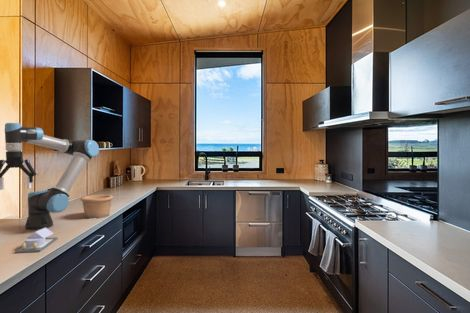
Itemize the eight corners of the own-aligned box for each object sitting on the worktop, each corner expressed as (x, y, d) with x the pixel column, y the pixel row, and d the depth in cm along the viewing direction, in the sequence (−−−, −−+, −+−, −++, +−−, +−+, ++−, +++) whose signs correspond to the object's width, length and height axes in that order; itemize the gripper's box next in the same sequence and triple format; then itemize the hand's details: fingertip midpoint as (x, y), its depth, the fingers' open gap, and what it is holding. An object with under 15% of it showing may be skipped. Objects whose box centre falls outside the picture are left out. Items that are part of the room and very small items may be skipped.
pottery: (75, 219, 216) (75, 199, 215) (89, 212, 238) (88, 194, 237) (106, 219, 216) (106, 199, 216) (117, 212, 238) (117, 194, 238)
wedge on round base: (37, 239, 166) (20, 247, 153) (37, 227, 166) (20, 234, 153) (54, 239, 166) (38, 247, 153) (53, 227, 166) (38, 234, 153)
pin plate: (36, 240, 169) (35, 232, 169) (57, 239, 171) (57, 232, 170) (15, 253, 148) (15, 245, 148) (39, 251, 150) (39, 243, 150)
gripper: (-16, 151, 163) (-14, 190, 164) (36, 150, 168) (37, 189, 170) (-8, 151, 171) (-6, 188, 172) (41, 150, 176) (43, 187, 177)
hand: (15, 189), depth 171 cm, fingers open, 13 cm apart
